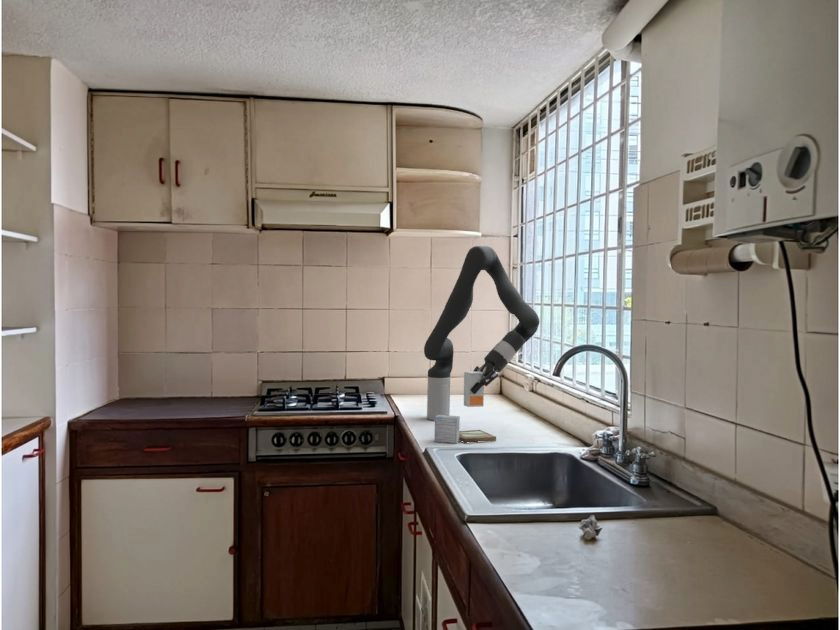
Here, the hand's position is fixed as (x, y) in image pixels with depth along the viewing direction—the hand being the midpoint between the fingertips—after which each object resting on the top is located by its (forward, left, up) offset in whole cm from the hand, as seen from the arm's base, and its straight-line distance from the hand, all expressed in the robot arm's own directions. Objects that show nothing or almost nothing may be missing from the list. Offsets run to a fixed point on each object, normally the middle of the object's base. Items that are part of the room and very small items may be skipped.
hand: (469, 391), depth 215 cm
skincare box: (0, +2, -5) cm, 6 cm away
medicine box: (+2, -9, -17) cm, 19 cm away
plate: (0, +2, -17) cm, 17 cm away
